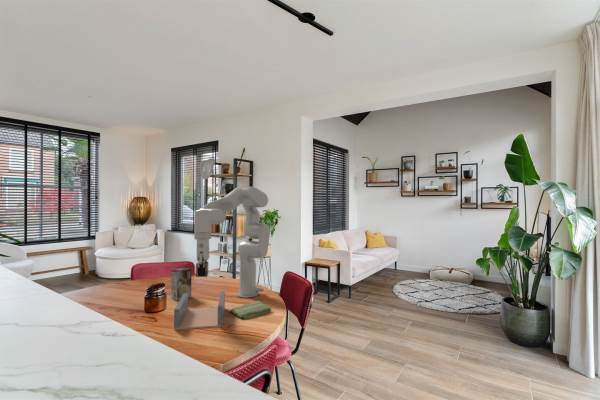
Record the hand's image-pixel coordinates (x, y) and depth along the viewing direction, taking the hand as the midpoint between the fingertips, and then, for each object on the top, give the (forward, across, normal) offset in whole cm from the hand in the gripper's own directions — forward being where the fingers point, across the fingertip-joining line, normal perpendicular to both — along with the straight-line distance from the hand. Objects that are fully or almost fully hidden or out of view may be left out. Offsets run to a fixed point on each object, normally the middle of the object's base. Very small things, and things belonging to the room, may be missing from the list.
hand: (202, 274), depth 144 cm
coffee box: (+21, +33, +15) cm, 42 cm away
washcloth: (+21, +4, -23) cm, 32 cm away
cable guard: (+21, 0, 0) cm, 21 cm away
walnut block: (+1, 0, 0) cm, 1 cm away
